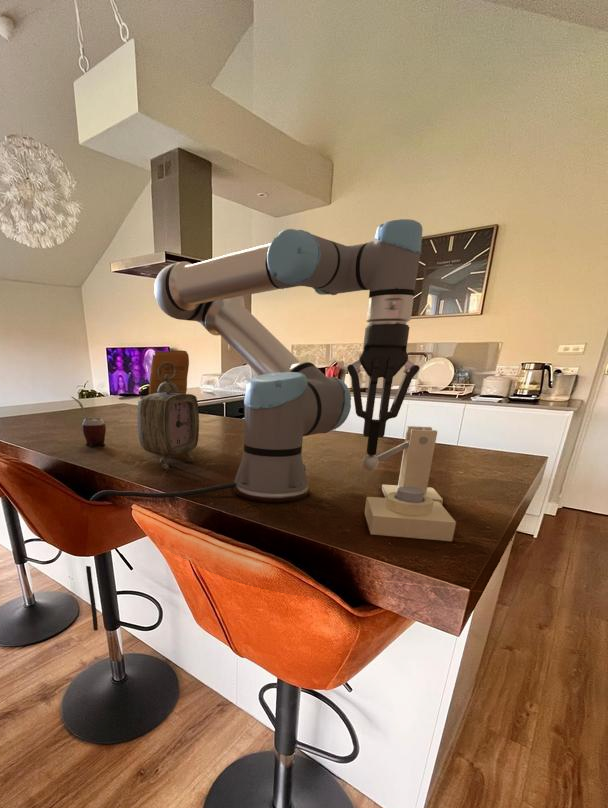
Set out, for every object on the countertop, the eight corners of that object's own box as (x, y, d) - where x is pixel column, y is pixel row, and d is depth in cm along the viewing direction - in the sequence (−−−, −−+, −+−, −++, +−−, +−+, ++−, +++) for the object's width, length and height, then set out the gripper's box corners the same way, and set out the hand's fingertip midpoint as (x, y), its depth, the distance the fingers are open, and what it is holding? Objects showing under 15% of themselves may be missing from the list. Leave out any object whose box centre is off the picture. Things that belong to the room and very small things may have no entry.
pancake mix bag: (197, 443, 135) (196, 350, 126) (158, 454, 120) (153, 349, 110) (180, 441, 139) (178, 350, 129) (140, 451, 124) (134, 349, 114)
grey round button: (398, 503, 67) (400, 492, 67) (394, 495, 71) (395, 485, 70) (425, 505, 66) (427, 494, 66) (419, 497, 70) (421, 487, 70)
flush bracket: (387, 501, 82) (397, 430, 78) (381, 489, 90) (391, 424, 85) (442, 505, 80) (456, 433, 76) (431, 493, 88) (444, 426, 83)
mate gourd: (111, 443, 134) (106, 395, 129) (98, 448, 127) (93, 397, 122) (89, 442, 136) (85, 394, 131) (76, 447, 129) (70, 396, 123)
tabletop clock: (166, 473, 101) (162, 362, 92) (137, 468, 105) (130, 362, 96) (199, 461, 113) (198, 362, 104) (172, 457, 117) (168, 361, 108)
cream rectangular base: (370, 534, 67) (374, 504, 65) (364, 513, 76) (367, 486, 74) (452, 541, 64) (458, 511, 63) (435, 518, 74) (441, 491, 72)
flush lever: (367, 474, 84) (360, 461, 83) (365, 470, 87) (358, 457, 86) (433, 443, 79) (426, 428, 79) (429, 440, 82) (422, 425, 82)
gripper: (351, 322, 73) (338, 455, 82) (431, 321, 71) (409, 459, 79) (348, 325, 80) (336, 448, 88) (421, 325, 78) (402, 451, 86)
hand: (371, 453), depth 84 cm, fingers closed
